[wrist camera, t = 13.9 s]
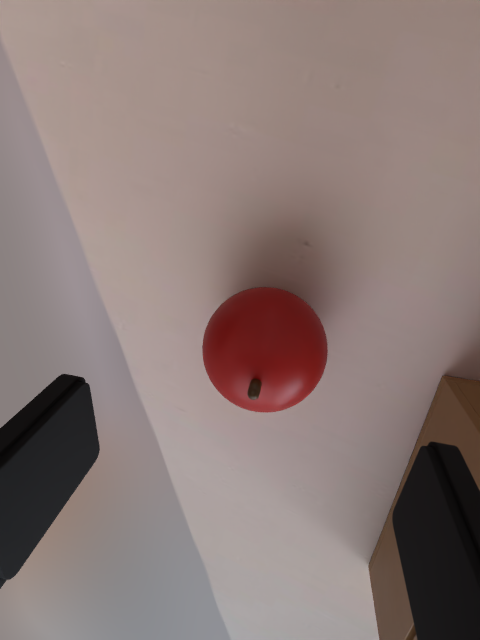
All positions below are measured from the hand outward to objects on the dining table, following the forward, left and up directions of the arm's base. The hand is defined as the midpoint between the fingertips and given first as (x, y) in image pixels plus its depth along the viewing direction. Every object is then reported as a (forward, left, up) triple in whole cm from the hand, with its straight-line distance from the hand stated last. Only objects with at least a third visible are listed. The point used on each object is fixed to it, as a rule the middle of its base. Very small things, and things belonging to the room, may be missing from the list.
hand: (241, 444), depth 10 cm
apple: (+1, 0, -11) cm, 11 cm away
